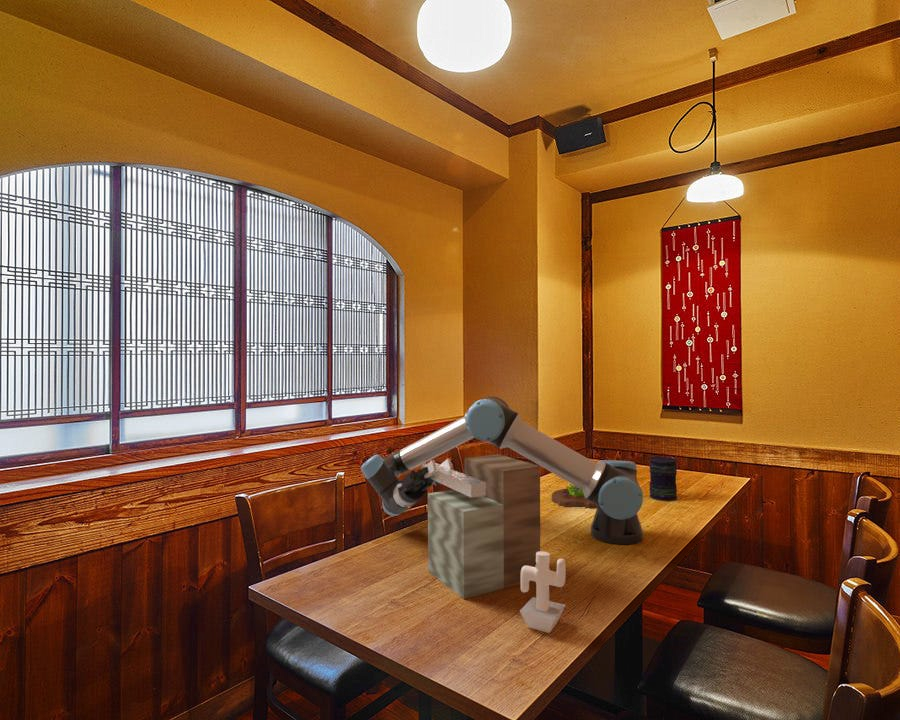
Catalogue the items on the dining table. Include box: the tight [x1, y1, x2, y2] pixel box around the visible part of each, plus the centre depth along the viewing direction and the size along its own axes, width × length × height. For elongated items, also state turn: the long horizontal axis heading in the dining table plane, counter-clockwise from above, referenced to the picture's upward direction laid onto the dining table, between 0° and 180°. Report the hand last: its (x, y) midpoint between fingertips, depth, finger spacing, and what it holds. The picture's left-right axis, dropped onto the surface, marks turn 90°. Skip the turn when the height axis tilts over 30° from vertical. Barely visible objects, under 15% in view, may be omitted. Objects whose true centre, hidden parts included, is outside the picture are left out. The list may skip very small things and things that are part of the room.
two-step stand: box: [427, 454, 541, 600], centre depth 133 cm, size 18×22×28 cm
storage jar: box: [649, 456, 678, 502], centre depth 205 cm, size 10×10×15 cm
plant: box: [551, 483, 597, 509], centre depth 200 cm, size 20×20×11 cm
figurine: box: [519, 550, 567, 634], centre depth 108 cm, size 7×9×15 cm
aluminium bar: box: [421, 462, 486, 497], centre depth 135 cm, size 26×4×3 cm, turn 29°
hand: (442, 464), depth 139 cm, fingers closed on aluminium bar, 4 cm apart
